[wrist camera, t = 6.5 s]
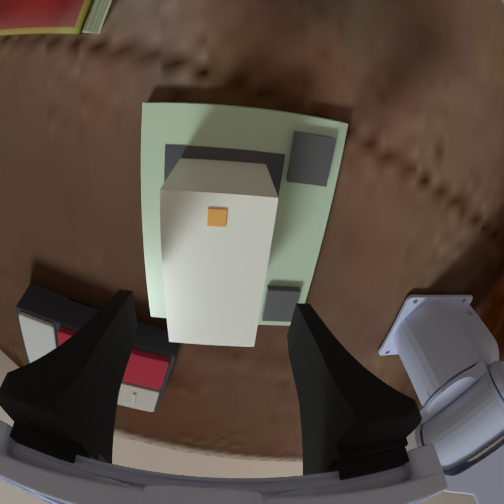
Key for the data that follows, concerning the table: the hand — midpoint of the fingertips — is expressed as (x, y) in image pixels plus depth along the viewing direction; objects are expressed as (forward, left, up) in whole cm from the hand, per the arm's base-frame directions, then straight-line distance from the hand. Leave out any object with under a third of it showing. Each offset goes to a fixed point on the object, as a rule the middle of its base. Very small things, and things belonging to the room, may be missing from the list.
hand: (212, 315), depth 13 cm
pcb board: (-1, 0, -9) cm, 9 cm away
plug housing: (0, 0, -8) cm, 8 cm away
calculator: (+12, +14, -9) cm, 20 cm away
